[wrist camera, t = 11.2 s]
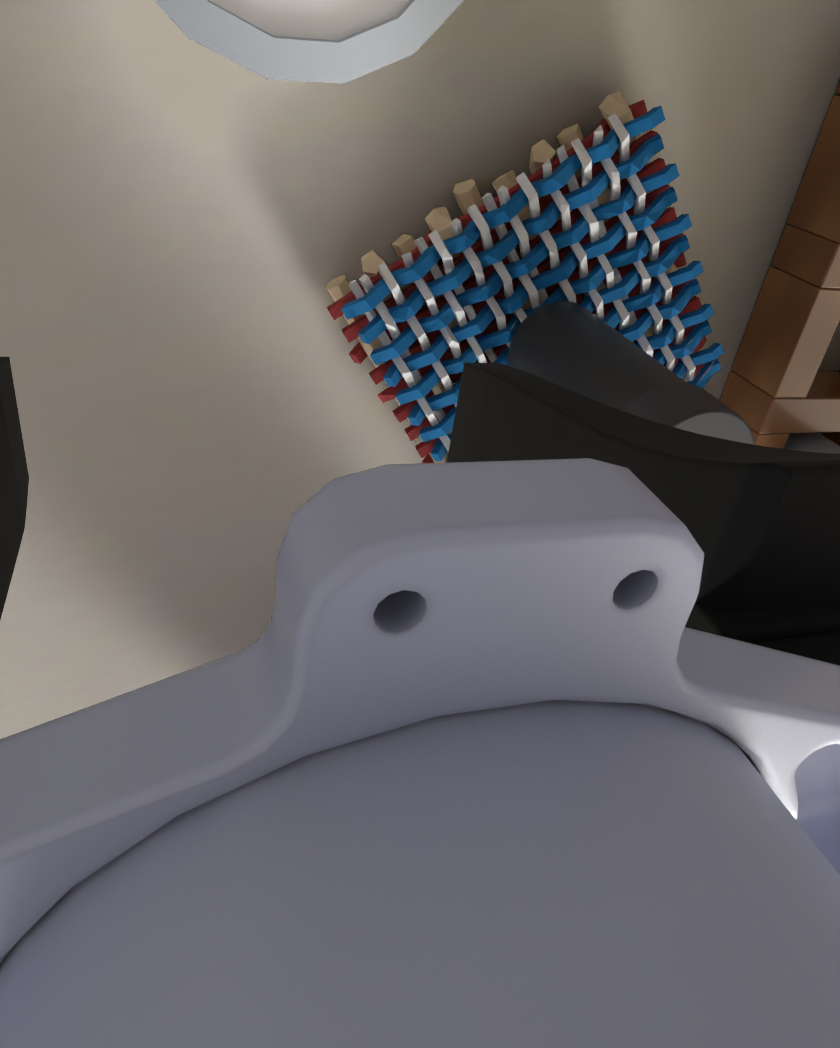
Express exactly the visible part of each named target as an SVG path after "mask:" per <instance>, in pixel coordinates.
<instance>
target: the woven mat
mask: <svg viewBox="0 0 840 1048" xmlns="http://www.w3.org/2000/svg"><path fill="white" fill-rule="evenodd" d="M599 109H600V111H601V113H602V114H603V116H604V119H602V120H601V121H600V123H599V124H598V125H597V127H596V128H595V129H594V131H593V132H592V133H591V134H590V135H589V136H587V137H586V138H583V135H582V133H581V130H580V127H579V125H578V124H576V125H573V126H570V127H568V128H565V129H563V130H562V131H561V132H560V134H559V135H558V136H557V138H558V141H559V143H560V146H561V147H559V148H558V149H557V150H556V151H557V154H558V157H557V158H556V159H555V156H556V151H555V150H554V149H553V148H552V147H551V146H550V145H549V144H548V143H547V142H546V141H545V140H544V139H542V140H541V141H539V142H538V143H537V144H535V145H534V146H533V147H532V148H531V156H530V164H529V169H530V171H531V174H532V175H531V176H529V177H528V178H527V176H526V175H525V173H524V172H523V173H521V174H520V175H519V176H518V177H517V176H516V174H515V173H514V171H513V169H512V170H511V171H509V172H507V173H505V174H503V175H501V176H500V177H498V178H497V179H496V180H495V181H494V182H492V185H493V187H494V189H495V191H496V192H497V194H498V196H497V197H495V198H493V196H492V194H491V193H486V194H485V195H484V196H483V197H482V198H481V195H480V193H479V191H478V188H477V186H476V184H475V182H474V180H473V179H470V180H467V181H464V182H461V183H458V184H455V187H454V190H453V194H454V196H455V198H456V200H457V202H458V205H459V207H460V209H461V211H462V213H463V216H461V217H458V218H455V219H453V220H452V219H451V217H450V215H449V213H448V211H447V209H446V207H440V208H434V209H433V210H432V211H431V212H430V213H429V214H428V215H427V217H426V218H425V220H426V222H427V224H428V226H429V227H430V229H431V231H429V232H428V233H427V235H426V236H425V237H424V238H423V236H422V237H420V238H418V239H416V240H414V238H413V236H411V235H407V234H402V235H401V236H400V237H399V238H398V239H397V240H396V241H395V242H394V243H393V244H392V246H393V248H394V250H395V252H396V253H397V255H398V257H399V260H398V261H396V262H395V263H393V264H391V265H390V266H388V267H387V266H386V264H385V262H384V261H383V260H382V259H381V258H380V257H379V256H378V255H377V254H376V253H375V252H374V251H373V250H371V251H370V252H368V253H367V254H366V255H364V256H363V257H362V258H361V261H362V269H363V274H364V275H363V276H362V277H361V278H360V279H359V280H360V282H361V285H360V286H359V284H358V283H357V281H356V280H354V281H351V282H349V281H348V279H347V278H346V276H345V274H344V275H342V276H339V277H336V278H333V279H332V280H331V281H330V282H329V283H328V285H327V286H326V288H327V290H328V291H329V293H330V295H331V296H332V298H333V300H334V301H335V302H334V303H333V304H331V305H330V306H328V307H327V308H328V311H329V312H330V314H331V316H332V317H333V319H334V320H335V319H337V318H338V317H340V316H342V315H343V316H344V318H345V319H346V321H347V323H348V324H349V325H348V326H346V327H345V328H343V329H342V332H343V334H344V335H345V337H346V338H347V340H348V342H351V341H353V340H354V339H356V338H357V339H358V341H359V342H358V344H357V345H356V346H355V347H354V348H353V350H352V351H351V352H350V353H349V355H350V356H351V358H352V359H353V361H354V362H355V363H359V364H361V363H362V361H363V360H364V359H365V358H366V357H367V356H369V358H370V359H371V361H372V362H373V364H374V365H375V367H376V368H375V369H374V370H372V371H371V372H370V373H369V374H370V376H371V378H372V379H373V381H374V382H375V384H376V385H377V384H378V383H380V382H381V381H383V380H384V382H385V383H386V385H387V386H388V388H387V389H385V390H384V391H382V392H381V393H380V394H378V397H379V398H380V399H381V401H382V402H383V403H384V402H386V401H389V400H391V399H393V398H395V399H396V401H397V402H398V404H399V407H398V408H396V409H395V410H394V411H392V412H393V413H394V415H395V416H396V418H397V420H398V421H399V422H402V421H403V420H405V419H406V418H408V420H409V422H410V423H411V426H409V427H408V428H406V429H405V431H406V433H407V435H408V436H409V438H410V440H411V441H412V440H414V439H415V438H417V437H418V436H419V438H420V439H421V441H422V442H421V443H420V444H418V445H416V449H417V451H418V452H419V454H420V456H421V457H422V458H423V457H424V456H426V455H427V456H426V457H425V459H424V460H423V462H422V463H447V458H448V452H449V446H450V441H451V435H452V429H453V423H454V418H455V412H456V406H457V400H458V395H459V389H460V383H461V377H462V372H463V366H464V363H498V364H504V365H508V352H509V347H510V343H511V340H512V338H513V335H514V334H515V332H516V330H517V328H518V327H519V326H520V324H521V323H522V322H523V321H524V319H526V318H527V317H528V316H529V315H530V314H531V313H532V312H534V311H535V310H537V309H538V308H540V307H542V306H544V305H547V304H550V303H554V302H560V301H568V302H574V303H577V304H579V305H582V306H583V307H585V308H586V309H588V310H589V311H590V312H592V313H593V314H594V315H596V316H597V317H598V318H600V319H601V320H603V321H604V322H605V323H607V324H608V325H609V326H611V327H612V328H613V329H615V330H616V331H617V332H619V333H620V334H622V335H623V336H624V337H626V338H627V339H628V340H630V341H631V342H632V343H634V344H635V345H637V346H638V347H639V348H641V349H642V350H643V351H645V352H646V353H647V354H649V355H650V356H652V357H653V358H654V359H656V360H657V361H658V362H660V363H661V364H662V365H664V366H665V367H667V368H668V369H669V370H671V371H672V372H673V373H675V374H676V375H677V376H679V377H680V378H682V379H683V380H684V381H686V382H687V383H689V384H693V385H696V386H699V387H701V388H702V389H703V388H704V386H705V385H706V384H707V382H708V381H709V379H710V378H711V377H712V375H713V374H714V373H716V372H718V371H719V370H721V366H720V362H719V361H718V359H717V358H718V357H719V356H720V355H721V354H723V353H724V351H723V348H722V345H721V344H719V343H714V344H713V345H711V346H710V347H709V348H708V349H705V350H702V351H699V350H700V349H701V348H702V347H703V345H704V343H705V342H706V340H707V339H706V335H708V334H710V333H711V328H710V324H709V323H708V321H707V319H708V318H710V317H711V316H712V315H713V314H714V312H713V308H712V305H711V304H704V305H702V306H701V302H700V299H699V298H698V297H696V296H694V295H696V294H698V293H700V292H701V289H700V285H699V283H698V281H697V279H694V278H696V277H697V276H698V275H700V274H701V273H702V272H703V268H702V265H701V261H693V262H692V263H690V264H689V265H688V266H686V267H684V268H682V269H679V270H678V269H677V267H681V266H684V265H686V261H685V257H684V253H683V252H684V251H686V250H687V249H689V248H690V247H689V243H688V239H687V237H686V236H685V235H683V233H682V232H684V231H685V230H687V229H688V228H689V227H691V226H692V225H691V221H690V217H689V214H682V215H680V216H679V217H678V218H677V217H676V213H675V209H674V208H670V207H669V208H667V207H668V206H670V205H671V204H673V203H674V202H676V201H677V197H676V193H675V190H674V188H673V187H670V186H669V185H667V184H669V183H670V182H671V181H673V180H674V179H676V178H677V177H678V176H679V173H678V169H677V166H676V164H668V165H667V166H666V165H665V162H664V159H662V158H658V159H656V160H654V161H652V162H651V163H649V164H647V165H645V164H646V163H647V162H648V161H649V160H650V159H651V158H652V156H653V155H655V154H656V153H658V152H659V151H661V150H662V149H664V147H663V143H662V139H661V137H660V135H659V133H658V134H657V132H654V131H649V132H647V133H646V134H644V135H643V136H641V137H640V138H638V139H636V140H635V137H636V135H638V134H641V133H643V132H645V131H647V130H649V129H652V128H654V127H655V126H657V125H658V124H660V123H661V122H663V121H664V120H665V117H664V114H663V110H662V107H661V106H659V107H655V108H653V109H651V110H650V111H649V112H647V109H646V106H645V102H644V100H642V101H639V102H637V103H634V104H632V105H630V106H628V105H627V103H626V101H625V100H624V98H623V96H622V94H621V93H620V91H618V92H616V93H613V94H610V95H608V96H607V98H606V99H605V100H604V101H603V102H602V103H601V105H600V106H599ZM599 161H600V163H599V164H597V165H596V166H594V163H596V162H599ZM644 165H645V166H644ZM566 183H567V184H566ZM565 184H566V185H565ZM652 190H653V191H652ZM650 191H651V192H650ZM648 192H650V193H648ZM646 193H648V194H646ZM538 197H540V198H538ZM482 199H483V200H482ZM571 210H572V211H571ZM494 227H495V228H494ZM475 242H476V243H475ZM474 243H475V244H474ZM518 244H519V247H517V248H516V249H515V247H516V246H517V245H518ZM471 245H472V246H471ZM557 249H560V250H558V251H557ZM549 254H550V256H549V257H548V255H549ZM440 258H442V261H443V265H442V266H440V267H438V265H437V261H438V260H439V259H440ZM485 266H487V267H486V268H484V269H483V270H482V267H485ZM411 282H412V283H413V284H412V285H410V286H409V287H407V288H406V289H404V290H403V291H401V289H400V287H399V286H402V285H405V284H408V283H411ZM650 285H651V286H650ZM606 286H607V288H606ZM540 303H541V305H540ZM423 304H424V306H425V307H423V308H421V307H422V305H423ZM420 308H421V309H420ZM419 309H420V310H419ZM662 329H663V330H662ZM391 340H393V342H391ZM697 351H699V352H697ZM483 352H484V353H483ZM508 366H509V365H508ZM456 381H457V383H456V384H455V385H454V386H453V383H452V382H456ZM433 394H435V395H434V396H433Z"/></svg>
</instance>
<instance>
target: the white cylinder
mask: <svg viewBox="0 0 840 1048" xmlns="http://www.w3.org/2000/svg"><path fill="white" fill-rule="evenodd" d="M154 1H155V2H156V3H157V4H158V5H159V6H160V7H161V9H162V10H163V11H164V12H165V13H166V14H167V15H168V16H169V17H170V19H171V20H172V21H173V22H174V23H175V24H176V25H177V26H178V27H179V29H180V30H181V31H182V32H183V33H184V34H185V35H186V36H187V37H188V38H189V39H191V40H193V41H194V42H196V43H198V44H200V45H202V46H204V47H206V48H208V49H210V50H212V51H214V52H216V53H217V54H219V55H221V56H223V57H225V58H227V59H229V60H231V61H233V62H235V63H237V64H239V65H240V66H242V67H244V68H246V69H248V70H250V71H252V72H254V73H256V74H258V75H260V76H262V77H263V78H265V79H272V80H289V81H306V82H324V83H341V84H345V83H347V82H349V81H352V80H354V79H356V78H359V77H361V76H363V75H366V74H368V73H371V72H373V71H375V70H378V69H380V68H382V67H385V66H387V65H390V64H392V63H394V62H397V61H399V60H401V59H404V58H406V57H408V56H411V55H413V54H414V53H415V52H416V51H417V50H418V49H419V48H420V47H421V46H422V45H423V44H424V43H425V42H426V41H427V40H428V38H429V37H430V36H431V35H432V34H433V33H434V32H435V31H436V30H437V29H438V28H439V27H440V26H441V25H442V23H443V22H444V21H445V20H446V19H447V18H448V17H449V16H450V15H451V14H452V13H453V12H454V11H455V10H456V8H457V7H458V6H459V5H460V4H461V3H462V2H463V1H464V0H154Z"/></svg>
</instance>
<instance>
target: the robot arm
mask: <svg viewBox="0 0 840 1048" xmlns="http://www.w3.org/2000/svg"><path fill="white" fill-rule="evenodd" d="M28 482H29V476H28V469H27V463H26V457H25V451H24V445H23V439H22V433H21V427H20V421H19V414H18V408H17V402H16V396H15V390H14V384H13V378H12V372H11V366H10V359H9V357H0V619H1V615H2V612H3V608H4V604H5V600H6V597H7V593H8V589H9V586H10V582H11V578H12V574H13V571H14V567H15V563H16V559H17V556H18V552H19V548H20V544H21V540H22V536H23V532H24V528H25V518H26V508H27V496H28ZM0 1048H840V454H834V453H817V452H806V451H798V450H790V449H781V448H773V447H766V446H760V445H753V444H747V443H741V442H736V441H731V440H726V439H721V438H716V437H711V436H706V435H702V434H698V433H694V432H690V431H686V430H682V429H679V428H675V427H672V426H668V425H665V424H661V423H658V422H654V421H651V420H648V419H645V418H642V417H639V416H636V415H633V414H630V413H627V412H625V411H622V410H619V409H617V408H614V407H611V406H609V405H606V404H603V403H601V402H598V401H596V400H593V399H591V398H588V397H586V396H584V395H581V394H579V393H576V392H574V391H572V390H569V389H567V388H565V387H562V386H560V385H557V384H555V383H553V382H550V381H548V380H546V379H543V378H541V377H538V376H536V375H533V374H531V373H528V372H526V371H523V370H520V369H517V368H514V367H511V366H508V365H504V364H498V363H464V366H463V372H462V377H461V383H460V389H459V395H458V400H457V406H456V412H455V418H454V423H453V429H452V435H451V441H450V446H449V452H448V458H447V463H423V464H391V465H383V466H380V467H376V468H372V469H368V470H365V471H361V472H357V473H353V474H350V475H346V476H342V477H338V478H335V479H333V480H332V481H330V482H329V483H328V484H327V485H326V486H325V487H323V488H322V489H321V490H320V491H319V492H318V493H316V494H315V495H314V496H313V497H312V498H311V499H309V500H308V501H307V502H306V503H305V504H303V505H302V506H301V507H300V508H299V509H298V510H296V511H295V512H294V513H293V514H292V517H291V520H290V523H289V525H288V528H287V531H286V534H285V536H284V539H283V542H282V544H281V547H280V550H279V553H278V555H277V565H276V589H275V605H274V610H273V614H272V619H271V623H270V625H269V627H268V628H267V630H266V632H265V634H264V635H263V636H262V637H261V638H260V639H259V640H257V641H256V642H255V643H254V644H252V645H251V646H250V647H248V648H247V649H244V650H241V651H239V652H236V653H233V654H230V655H228V656H225V657H222V658H220V659H217V660H214V661H212V662H209V663H206V664H203V665H201V666H198V667H195V668H193V669H190V670H187V671H184V672H182V673H179V674H176V675H174V676H171V677H168V678H165V679H163V680H160V681H157V682H155V683H152V684H149V685H147V686H144V687H141V688H138V689H136V690H133V691H130V692H128V693H125V694H122V695H119V696H117V697H114V698H111V699H109V700H106V701H103V702H100V703H98V704H95V705H92V706H90V707H87V708H84V709H82V710H79V711H76V712H73V713H71V714H68V715H65V716H63V717H60V718H57V719H54V720H52V721H49V722H46V723H44V724H41V725H38V726H35V727H33V728H30V729H27V730H25V731H22V732H19V733H17V734H14V735H11V736H8V737H6V738H3V739H0Z"/></svg>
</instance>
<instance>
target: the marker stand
mask: <svg viewBox="0 0 840 1048" xmlns="http://www.w3.org/2000/svg"><path fill="white" fill-rule="evenodd" d="M836 94H837V95H835V96H834V97H833V99H832V102H831V105H830V107H829V110H828V113H827V115H826V118H825V121H824V123H823V126H822V129H821V131H820V134H819V137H818V139H817V142H816V145H815V147H814V150H813V153H812V155H811V158H810V161H809V163H808V166H807V169H806V171H805V174H804V177H803V179H802V182H801V185H800V187H799V190H798V193H797V195H796V198H795V201H794V203H793V206H792V209H791V211H790V214H789V217H788V219H787V224H788V225H786V226H785V229H784V231H783V234H782V237H781V239H780V242H779V245H778V247H777V250H776V253H775V255H774V258H773V261H772V264H771V265H772V266H770V267H769V270H768V272H767V275H766V278H765V280H764V283H763V286H762V288H761V291H760V294H759V296H758V299H757V302H756V304H755V307H754V310H753V312H752V315H751V318H750V320H749V323H748V326H747V328H746V331H745V334H744V336H743V339H742V342H741V344H740V347H739V350H738V352H737V355H736V358H735V360H734V363H733V366H732V371H731V372H730V374H729V377H728V380H727V382H726V385H725V388H724V390H723V393H722V396H721V398H720V401H721V402H722V403H723V404H725V405H726V406H728V407H729V408H730V409H732V410H733V411H734V412H736V413H737V414H739V415H740V416H741V417H742V418H743V419H744V420H745V421H746V422H747V424H748V425H749V427H750V430H751V432H752V435H753V440H754V445H760V446H766V447H773V448H781V449H783V448H784V446H785V444H786V442H787V439H788V437H789V433H813V432H819V433H821V434H822V435H824V436H825V437H827V438H828V439H830V440H831V441H833V442H834V443H836V444H837V445H839V446H840V371H818V369H819V367H820V364H821V362H822V360H823V358H824V355H825V353H826V351H827V348H828V346H829V344H830V342H831V339H832V337H833V335H834V333H835V330H836V328H837V326H838V323H839V321H840V82H839V85H838V87H837V90H836Z"/></svg>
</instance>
